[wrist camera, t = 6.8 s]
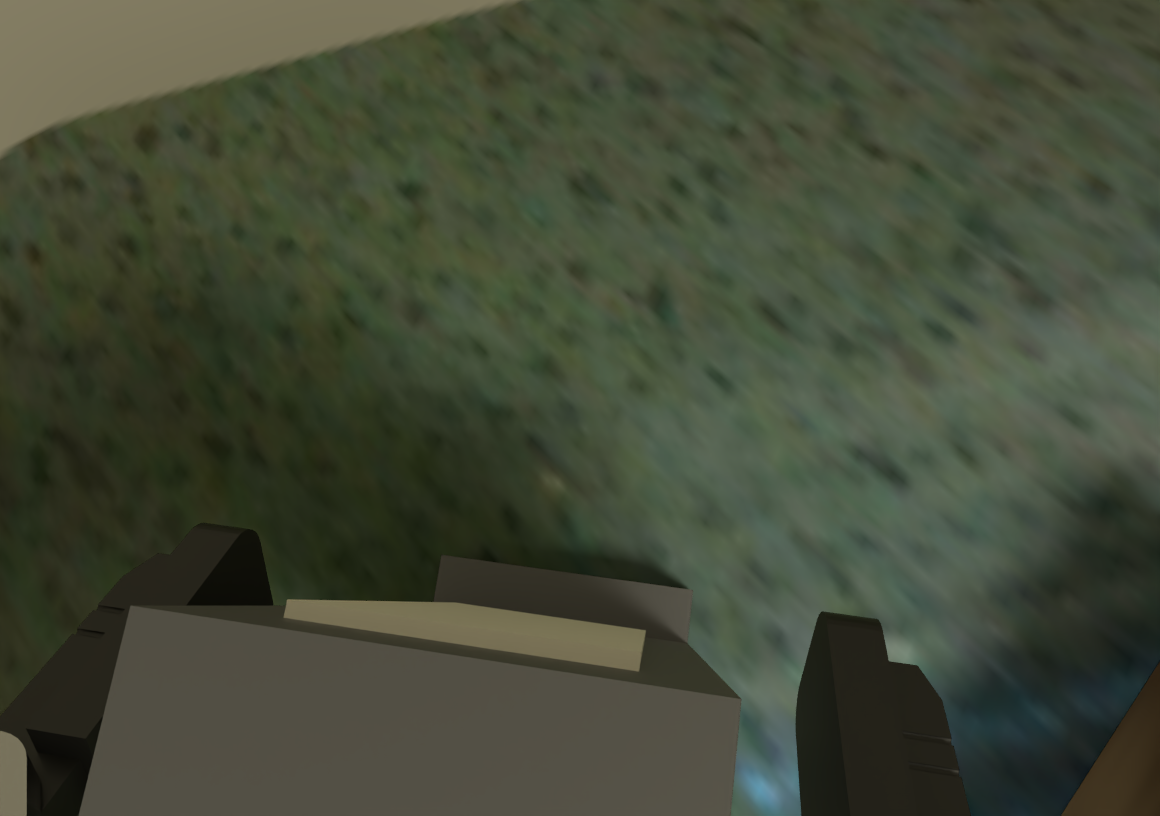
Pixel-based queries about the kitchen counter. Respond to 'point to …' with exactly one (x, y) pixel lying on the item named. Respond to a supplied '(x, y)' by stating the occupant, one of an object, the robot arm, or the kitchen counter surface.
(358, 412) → the kitchen counter surface
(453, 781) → the picture frame
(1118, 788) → the wooden block
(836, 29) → the kitchen counter surface
